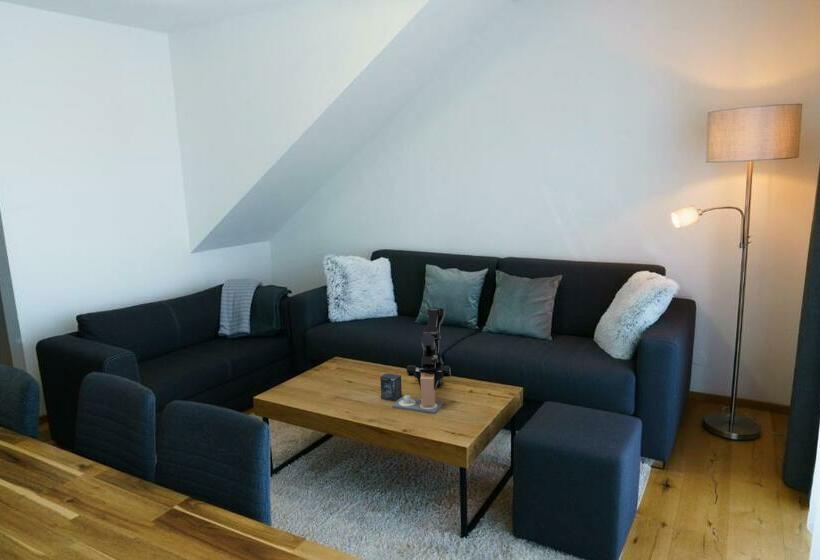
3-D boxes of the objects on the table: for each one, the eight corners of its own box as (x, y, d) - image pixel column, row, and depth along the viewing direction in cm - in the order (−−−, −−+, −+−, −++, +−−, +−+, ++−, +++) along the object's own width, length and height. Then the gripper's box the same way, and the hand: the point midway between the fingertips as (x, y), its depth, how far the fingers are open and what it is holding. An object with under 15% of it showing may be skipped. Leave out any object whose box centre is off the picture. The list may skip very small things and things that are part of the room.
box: (381, 398, 262) (379, 376, 260) (387, 394, 267) (386, 372, 265) (395, 401, 259) (394, 379, 257) (402, 397, 263) (401, 375, 261)
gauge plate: (401, 399, 261) (401, 390, 260) (443, 404, 253) (443, 396, 252) (392, 407, 252) (391, 399, 251) (435, 413, 244) (434, 405, 243)
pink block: (422, 399, 253) (421, 373, 251) (435, 400, 252) (434, 374, 250) (421, 405, 248) (420, 378, 246) (434, 405, 247) (433, 378, 245)
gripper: (406, 347, 251) (403, 381, 242) (449, 348, 248) (447, 382, 240) (409, 359, 260) (406, 391, 252) (451, 359, 257) (449, 392, 249)
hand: (427, 389), depth 248 cm, fingers closed on pink block, 5 cm apart
